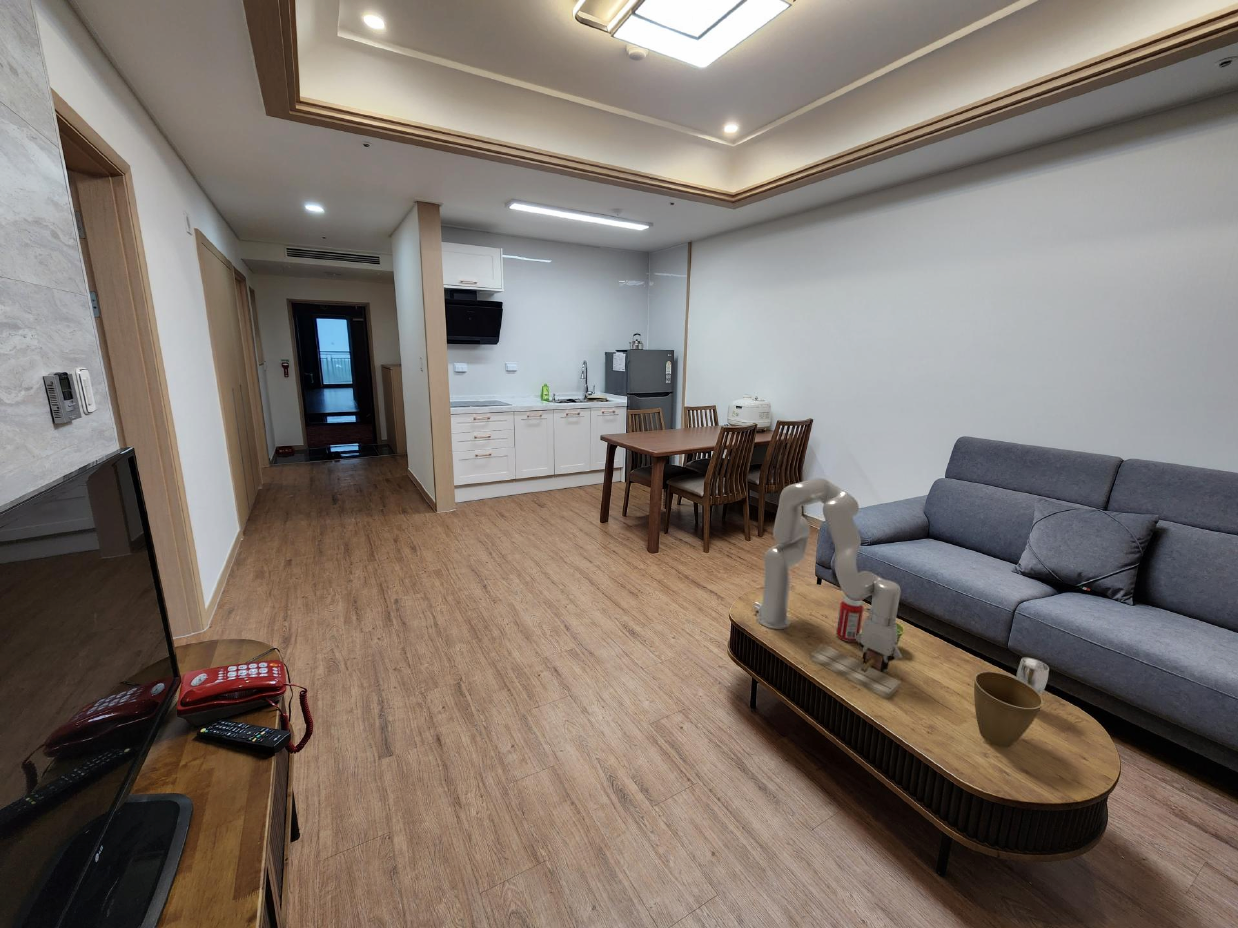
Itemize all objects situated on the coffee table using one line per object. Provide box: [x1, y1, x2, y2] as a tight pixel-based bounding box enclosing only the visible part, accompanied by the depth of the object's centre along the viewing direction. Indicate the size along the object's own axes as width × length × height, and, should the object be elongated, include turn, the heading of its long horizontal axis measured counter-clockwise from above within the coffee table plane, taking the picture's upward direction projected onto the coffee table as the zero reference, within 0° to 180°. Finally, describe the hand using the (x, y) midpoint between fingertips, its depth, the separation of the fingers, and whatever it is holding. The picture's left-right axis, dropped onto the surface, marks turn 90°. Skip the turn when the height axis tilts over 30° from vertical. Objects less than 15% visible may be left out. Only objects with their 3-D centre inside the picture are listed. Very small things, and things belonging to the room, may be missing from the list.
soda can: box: [835, 596, 865, 643], centre depth 185 cm, size 8×8×15 cm
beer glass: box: [1015, 657, 1050, 697], centre depth 150 cm, size 7×7×15 cm
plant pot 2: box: [973, 670, 1044, 748], centre depth 137 cm, size 15×15×16 cm
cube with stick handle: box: [861, 648, 884, 672], centre depth 165 cm, size 5×11×6 cm, turn 130°
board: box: [809, 643, 901, 700], centre depth 166 cm, size 26×9×2 cm, turn 40°
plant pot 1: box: [895, 621, 905, 645], centre depth 180 cm, size 9×9×9 cm
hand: (874, 665), depth 168 cm, fingers closed on cube with stick handle, 5 cm apart
